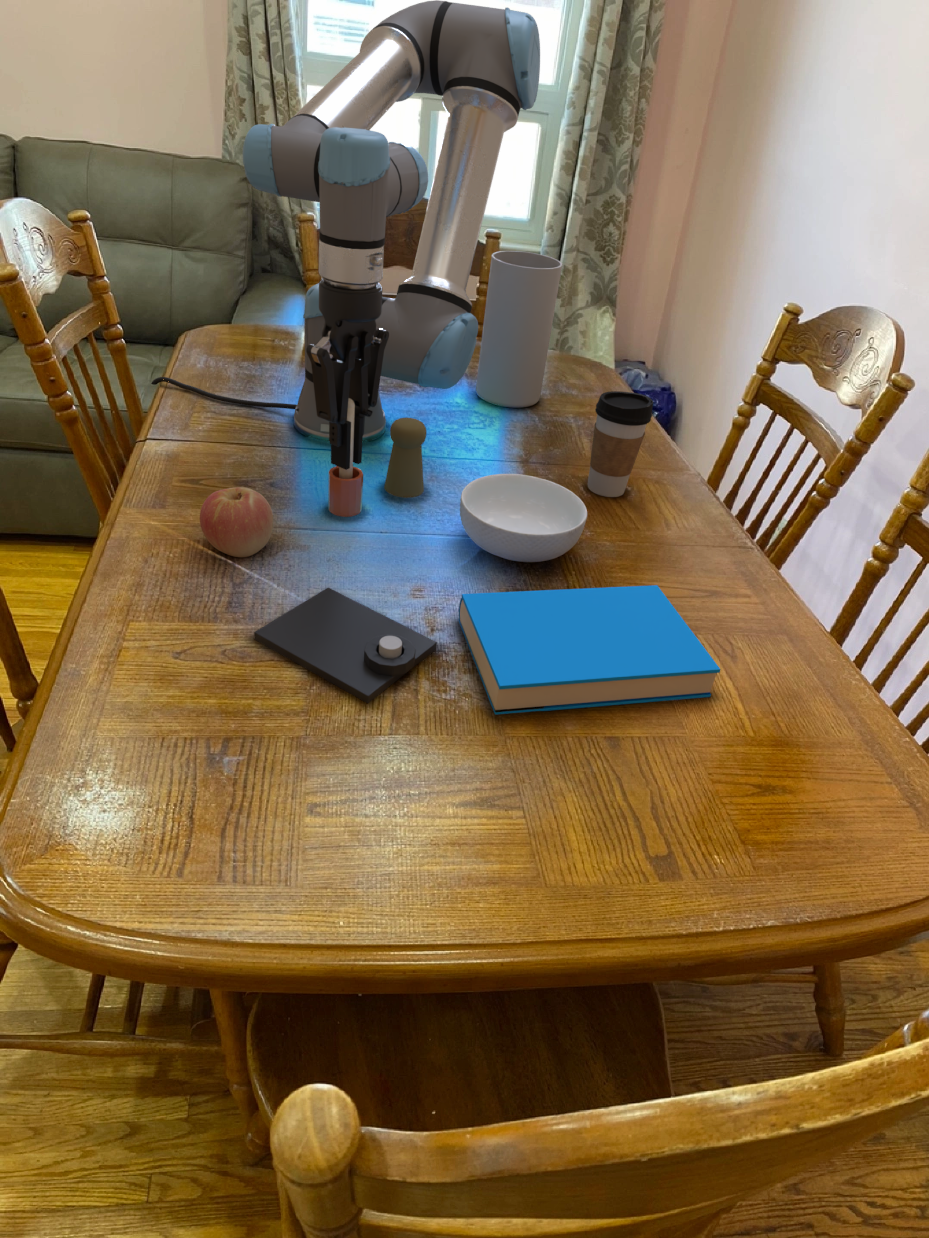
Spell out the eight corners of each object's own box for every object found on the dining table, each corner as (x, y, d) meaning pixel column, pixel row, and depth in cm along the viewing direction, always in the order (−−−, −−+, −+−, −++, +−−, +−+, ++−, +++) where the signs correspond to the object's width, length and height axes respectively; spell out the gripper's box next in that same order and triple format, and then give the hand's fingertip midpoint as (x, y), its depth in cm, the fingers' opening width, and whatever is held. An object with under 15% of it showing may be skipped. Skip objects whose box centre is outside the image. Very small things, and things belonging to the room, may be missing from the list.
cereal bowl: (492, 590, 103) (499, 542, 99) (434, 527, 114) (439, 481, 110) (602, 568, 110) (613, 522, 106) (537, 510, 122) (545, 467, 118)
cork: (431, 489, 124) (437, 420, 117) (412, 504, 119) (418, 433, 113) (395, 478, 125) (400, 409, 119) (376, 493, 121) (379, 422, 114)
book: (722, 669, 88) (501, 685, 81) (710, 699, 91) (495, 717, 84) (655, 581, 101) (459, 588, 95) (646, 609, 104) (455, 618, 97)
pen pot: (321, 511, 114) (321, 472, 111) (343, 500, 118) (344, 462, 114) (346, 523, 113) (347, 483, 109) (368, 511, 116) (370, 473, 112)
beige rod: (335, 508, 115) (337, 398, 105) (344, 504, 116) (347, 394, 107) (345, 513, 114) (348, 402, 105) (354, 508, 115) (357, 398, 106)
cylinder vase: (550, 397, 161) (574, 262, 146) (519, 414, 152) (541, 272, 137) (496, 380, 166) (513, 248, 151) (463, 395, 157) (478, 256, 142)
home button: (374, 652, 87) (374, 642, 86) (388, 642, 89) (388, 632, 88) (392, 662, 86) (392, 652, 85) (405, 651, 88) (406, 641, 87)
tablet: (254, 640, 90) (253, 621, 88) (328, 594, 98) (328, 577, 97) (372, 707, 83) (373, 688, 82) (441, 652, 92) (443, 634, 90)
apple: (239, 575, 100) (236, 517, 95) (187, 550, 103) (181, 492, 98) (288, 548, 106) (287, 492, 101) (237, 524, 109) (234, 469, 105)
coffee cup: (631, 505, 127) (655, 412, 118) (577, 495, 127) (596, 402, 119) (633, 482, 133) (655, 393, 125) (581, 472, 134) (600, 383, 125)
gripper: (333, 298, 90) (330, 490, 104) (413, 279, 101) (401, 455, 115) (283, 282, 94) (286, 470, 107) (366, 265, 104) (360, 439, 118)
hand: (346, 462), depth 111 cm, fingers closed on beige rod, 2 cm apart
